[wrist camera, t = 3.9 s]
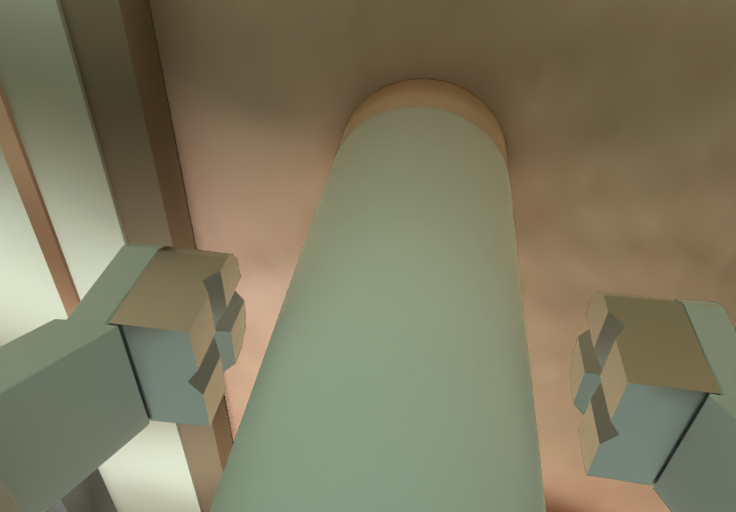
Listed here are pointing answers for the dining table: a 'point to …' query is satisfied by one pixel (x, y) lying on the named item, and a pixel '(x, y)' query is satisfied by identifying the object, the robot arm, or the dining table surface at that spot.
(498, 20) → the dining table surface
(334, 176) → the cylinder
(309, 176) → the dining table surface
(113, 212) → the board
